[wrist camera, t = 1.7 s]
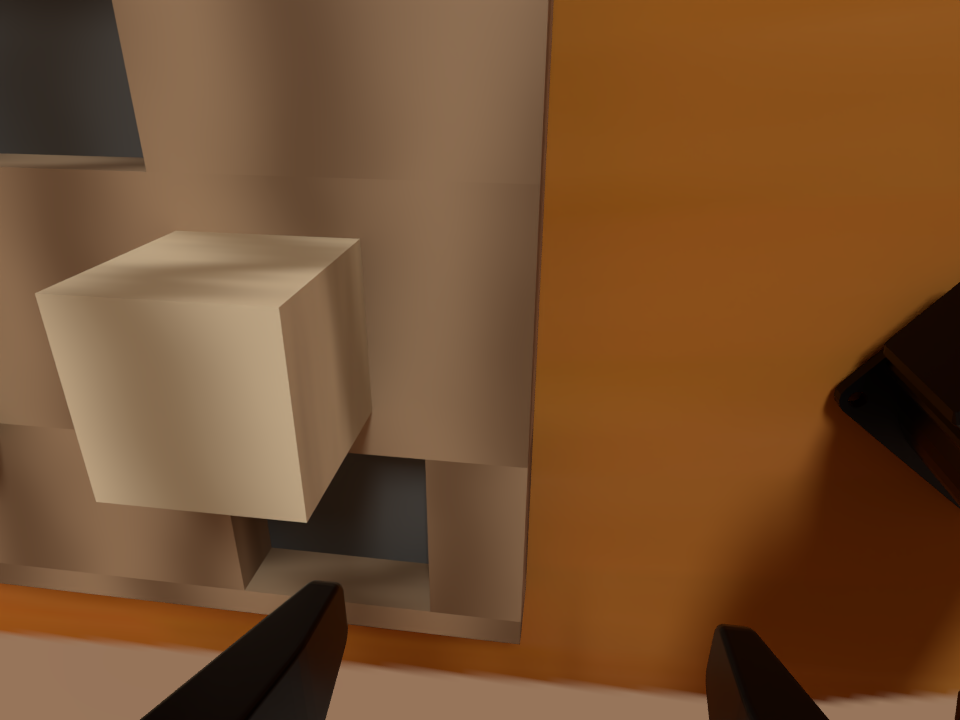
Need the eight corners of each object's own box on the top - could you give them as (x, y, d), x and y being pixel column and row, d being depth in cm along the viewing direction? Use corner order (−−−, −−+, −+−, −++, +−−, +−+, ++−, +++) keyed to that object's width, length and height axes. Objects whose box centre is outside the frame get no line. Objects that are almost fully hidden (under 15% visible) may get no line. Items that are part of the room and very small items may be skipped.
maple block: (359, 238, 17) (278, 307, 12) (372, 410, 19) (306, 522, 14) (175, 230, 17) (34, 293, 13) (207, 398, 20) (96, 502, 15)
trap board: (560, -153, 15) (557, -190, 13) (525, 589, 24) (520, 644, 22) (-336, -126, 18) (-468, -152, 16) (-59, 526, 27) (-116, 569, 25)
